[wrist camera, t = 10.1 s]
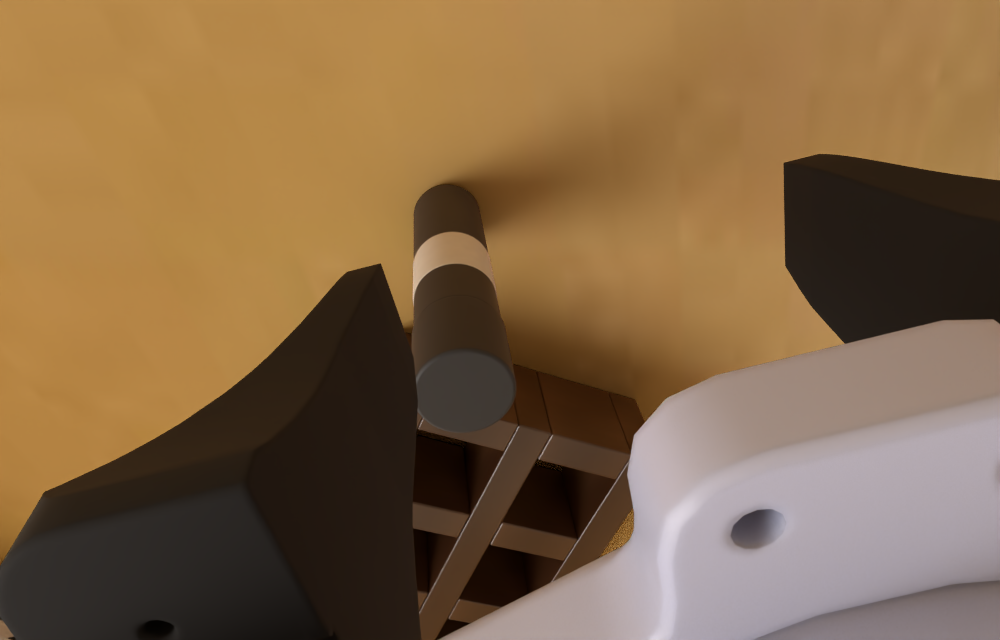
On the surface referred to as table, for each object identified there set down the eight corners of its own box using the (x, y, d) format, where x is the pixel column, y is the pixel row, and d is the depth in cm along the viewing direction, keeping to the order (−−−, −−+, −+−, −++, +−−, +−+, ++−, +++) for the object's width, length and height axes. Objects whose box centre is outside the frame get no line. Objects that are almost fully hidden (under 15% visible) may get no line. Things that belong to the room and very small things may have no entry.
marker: (494, 203, 23) (537, 376, 15) (458, 257, 24) (480, 448, 16) (434, 169, 22) (445, 332, 14) (399, 226, 23) (392, 410, 15)
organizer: (635, 399, 28) (663, 463, 25) (497, 624, 34) (505, 698, 31) (395, 328, 25) (393, 391, 22) (292, 587, 31) (278, 663, 28)
